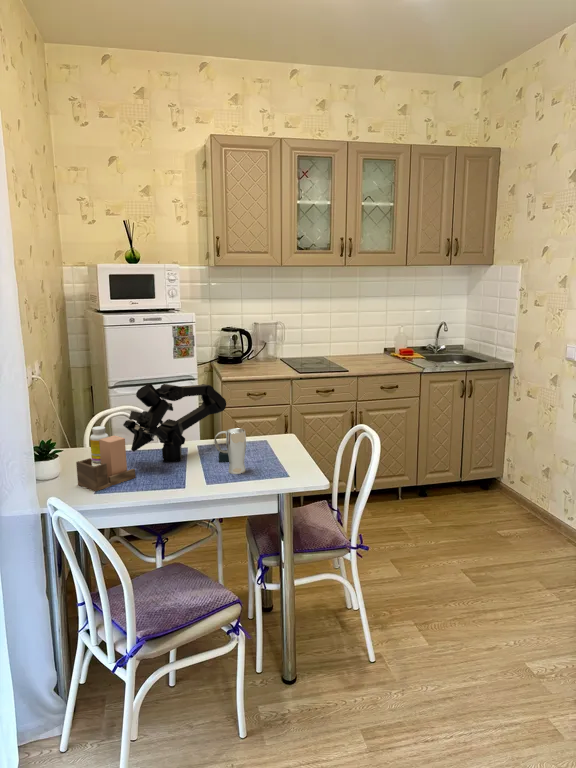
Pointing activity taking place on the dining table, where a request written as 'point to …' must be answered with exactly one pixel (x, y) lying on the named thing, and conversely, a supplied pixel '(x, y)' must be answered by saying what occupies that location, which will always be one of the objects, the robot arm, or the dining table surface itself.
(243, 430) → the beer glass
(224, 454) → the watch
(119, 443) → the terracotta block
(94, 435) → the supplement bottle
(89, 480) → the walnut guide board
